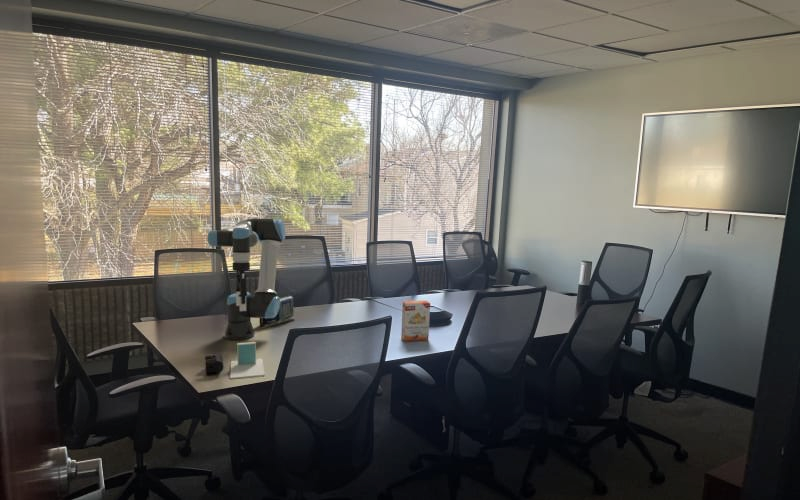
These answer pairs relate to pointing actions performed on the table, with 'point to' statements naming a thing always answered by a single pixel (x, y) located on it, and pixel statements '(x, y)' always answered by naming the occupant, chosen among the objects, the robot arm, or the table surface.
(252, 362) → the tile
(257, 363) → the mat
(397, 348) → the table surface
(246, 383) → the table surface
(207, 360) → the end cap
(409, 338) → the cracker box
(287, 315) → the radio
